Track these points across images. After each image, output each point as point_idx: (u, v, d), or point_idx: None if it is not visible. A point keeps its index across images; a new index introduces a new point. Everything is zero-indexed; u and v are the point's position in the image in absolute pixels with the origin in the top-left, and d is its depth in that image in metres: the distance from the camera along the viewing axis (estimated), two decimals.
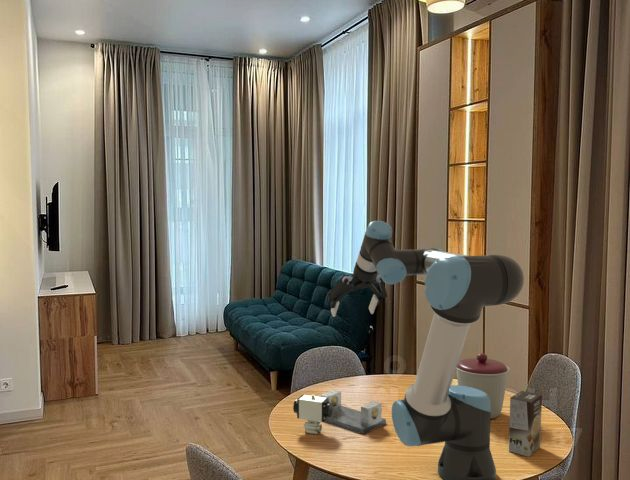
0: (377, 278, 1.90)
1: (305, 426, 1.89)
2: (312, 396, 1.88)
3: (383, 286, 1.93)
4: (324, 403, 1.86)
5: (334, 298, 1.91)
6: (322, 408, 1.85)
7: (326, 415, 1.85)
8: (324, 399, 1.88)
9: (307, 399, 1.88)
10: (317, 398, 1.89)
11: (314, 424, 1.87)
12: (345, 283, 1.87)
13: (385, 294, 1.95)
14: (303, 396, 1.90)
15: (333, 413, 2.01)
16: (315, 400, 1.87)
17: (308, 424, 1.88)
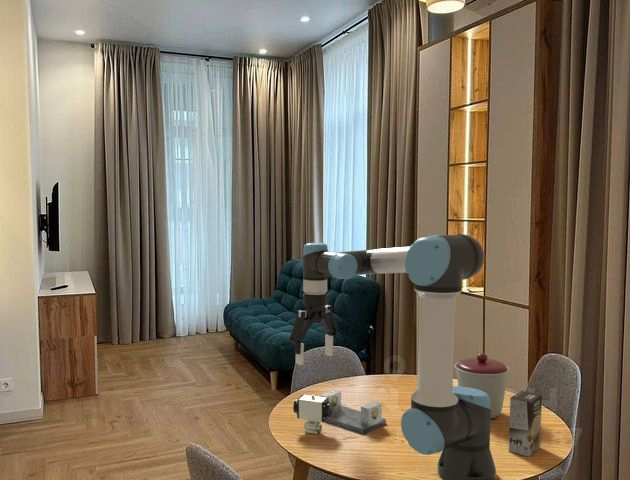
0: (326, 308, 1.90)
1: (305, 426, 1.89)
2: (312, 396, 1.88)
3: (333, 317, 1.92)
4: (324, 403, 1.86)
5: (298, 340, 1.81)
6: (322, 408, 1.85)
7: (326, 415, 1.85)
8: (324, 399, 1.88)
9: (307, 399, 1.88)
10: (317, 398, 1.89)
11: (314, 424, 1.87)
12: (303, 316, 1.82)
13: (336, 327, 1.93)
14: (303, 396, 1.90)
15: (333, 413, 2.01)
16: (315, 400, 1.87)
17: (308, 424, 1.88)
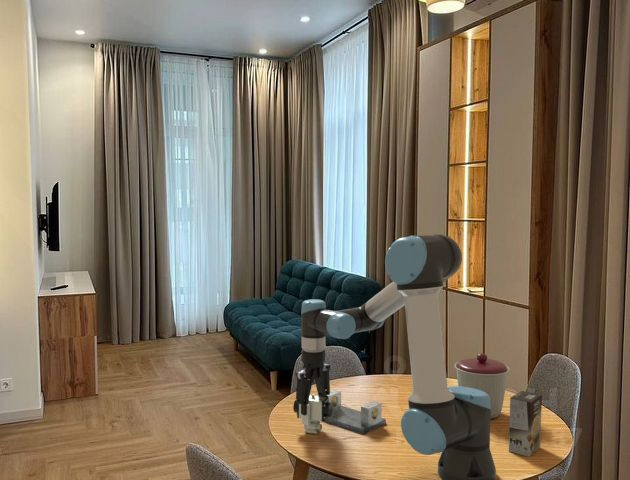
0: (324, 366, 1.91)
1: (305, 426, 1.89)
2: (312, 396, 1.88)
3: (328, 377, 1.92)
4: (324, 403, 1.86)
5: (303, 402, 1.85)
6: (322, 408, 1.85)
7: (326, 415, 1.85)
8: (324, 399, 1.88)
9: None
10: (317, 398, 1.89)
11: (314, 424, 1.87)
12: (303, 378, 1.83)
13: (329, 390, 1.92)
14: None
15: (333, 413, 2.01)
16: (315, 399, 1.87)
17: None
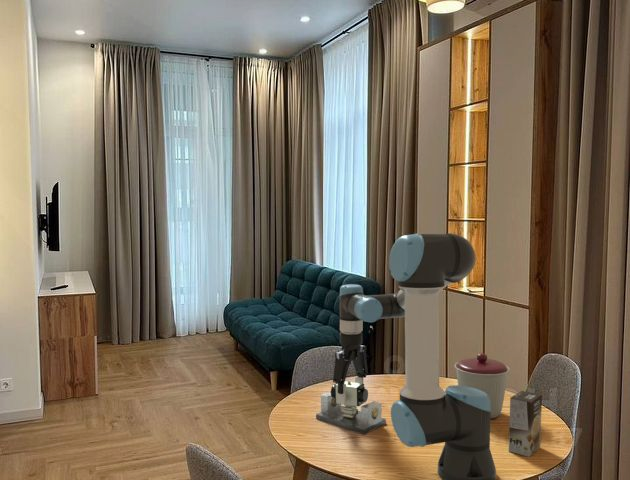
0: None
1: (342, 410, 1.98)
2: (348, 382, 1.98)
3: (365, 357, 2.01)
4: (359, 388, 1.94)
5: None
6: (357, 393, 1.94)
7: (361, 400, 1.94)
8: (359, 385, 1.96)
9: None
10: (353, 384, 1.98)
11: (350, 408, 1.96)
12: (342, 358, 1.92)
13: (366, 369, 2.02)
14: None
15: (333, 413, 2.01)
16: (351, 385, 1.96)
17: (345, 408, 1.97)
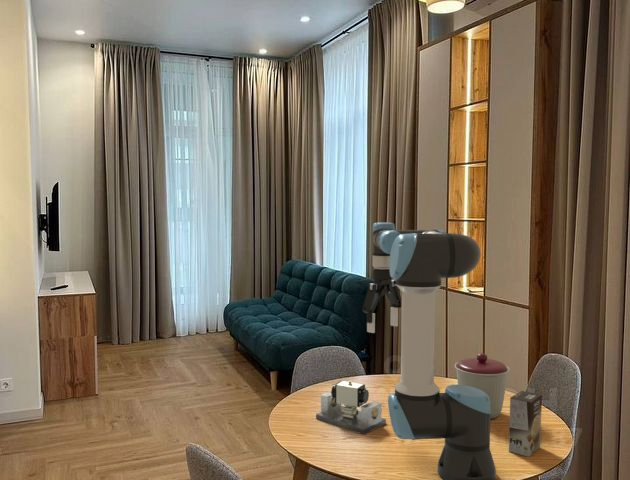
0: (392, 282, 2.08)
1: (342, 410, 1.98)
2: (349, 382, 1.97)
3: (398, 290, 2.10)
4: (360, 389, 1.94)
5: (370, 310, 1.99)
6: (358, 394, 1.94)
7: (361, 401, 1.94)
8: (360, 385, 1.96)
9: (344, 385, 1.97)
10: (354, 384, 1.98)
11: (350, 409, 1.96)
12: (375, 288, 2.00)
13: (401, 300, 2.12)
14: (341, 382, 2.00)
15: (333, 413, 2.01)
16: (352, 386, 1.96)
17: (345, 408, 1.97)
